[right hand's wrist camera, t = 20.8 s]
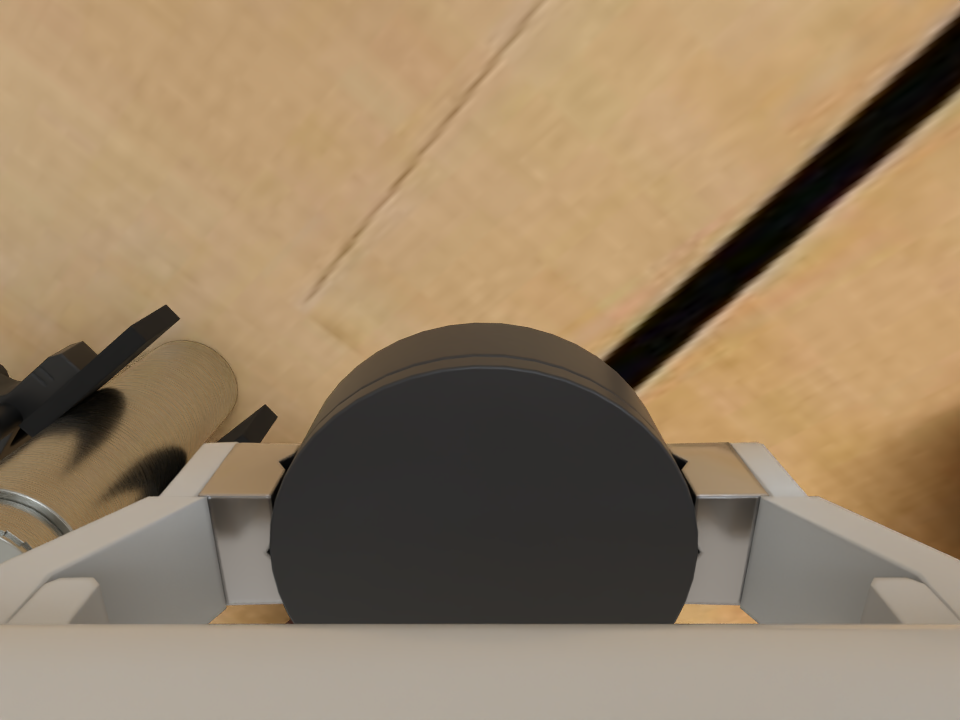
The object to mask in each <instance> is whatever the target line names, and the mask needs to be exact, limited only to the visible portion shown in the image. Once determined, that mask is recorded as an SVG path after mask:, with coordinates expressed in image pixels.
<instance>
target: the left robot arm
mask: <svg viewBox="0 0 960 720" xmlns="http://www.w3.org/2000/svg"><path fill="white" fill-rule="evenodd" d="M179 319H180V318H179V317H178V316H177V315H176V314H175V313H174V312H173V311H172V310H171V309H170V308H169V307H168V306H167V305H164V306H163V307H161V308H160V309H158V310H156V311H155V312H153V313H151V314H150V315H148V316H146V317H145V318H143V319H141V320H140V321H138V322H137V323H135V324H133V325H132V326H130V327H129V328H128V329H127V330H126V331H125V332H123V333H122V334H121V335H120V336H119V337H118V338H117V339H116V340H114V341H113V342H112V343H111V344H110V345H109V346H108V347H106V348H105V349H104V350H103V351H102V352H101V353H100V354H99V355H97V354H96V353H95V352H94V351H93V350H92V349H91V348H90V347H89V346H88V345H86V344H85V343H84V342H83V341H82V342H78V343H75V344H72V345H69V346H68V347H66V348H64V349H62V350H61V351H59V352H57V353H55V354H54V355H52V356H50V357H48V358H47V359H46V360H45V361H44V362H43V363H42V364H41V365H39V367H37V368H36V369H35V370H34V371H33V372H32V373H31V374H30V375H28V376H27V377H26V378H25V379H24V380H23V381H22V382H21V381H16V380H14V379H11V378H9V375H8V372H7V370H6V369H5V368H4V367H3V366H2V365H0V461H1V460H2V459H3V458H5V457H6V456H7V455H9V454H10V453H12V452H13V451H14V450H16V449H17V448H19V447H20V446H21V445H23V444H24V443H26V442H27V441H28V440H30V439H31V438H32V437H34V436H35V435H37V434H38V433H39V432H41V431H42V430H44V429H45V428H46V427H48V426H49V425H50V424H52V423H53V422H55V421H56V420H57V419H59V418H60V417H62V416H63V415H64V414H66V413H67V412H69V411H70V410H71V409H73V408H74V407H75V406H77V405H78V404H80V403H81V402H82V401H84V400H85V399H87V398H88V397H89V396H91V395H92V394H93V393H95V392H96V391H97V390H99V389H100V388H101V387H102V386H103V385H104V384H105V383H107V382H108V381H109V380H110V379H111V378H112V377H114V376H115V375H116V374H117V373H118V372H119V371H120V370H122V369H123V368H124V367H125V366H126V365H127V364H129V363H130V362H131V361H132V360H133V359H134V358H135V357H137V356H138V355H139V354H140V353H141V352H142V351H144V350H145V349H146V348H147V347H148V346H149V345H151V344H152V343H153V342H154V341H155V340H156V339H157V338H159V337H160V336H161V335H162V334H163V333H164V332H166V331H167V330H168V329H169V328H170V327H171V326H172V325H174V324H175V323H176V322H177V321H178V320H179ZM276 419H277V416H276V415H275V414H274V413H273V412H272V411H271V410H270V409H269V408H268V407H267V406H266V405H264V406H262V407H261V408H260V409H259V410H257V411H256V412H255V413H253V414H252V415H251V416H250V417H248V418H247V419H246V420H244V421H243V422H242V423H241V424H239V425H238V426H237V427H236V428H234V429H233V430H232V431H230V432H229V433H228V434H227V435H225V436H224V437H223V438H221V439H220V440H219V441H218V442H238V443H260V442H261V441H262V439H263V438H264V436H265V435H266V434H267V432H268V431H269V429H270V428H271V426H272V425H273V423H274V422H275V420H276ZM218 442H216V443H218Z"/></svg>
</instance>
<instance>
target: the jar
mask: <svg viewBox="0 0 960 720" xmlns="http://www.w3.org/2000/svg"><path fill="white" fill-rule="evenodd" d="M236 398H237V383H236V379H235V376H234V373H233V371H232V369H231V368H230V366H229V365H228V363H227V362H226V361H225V360H224V359H223V358H222V357H221V356H220V355H219V354H218V353H217V352H215V351H214V350H212V349H211V348H209V347H207V346H205V345H202V344H200V343H196V342H192V341H181V340H180V341H172V342H168V343H165V344H163V345H161V346H159V347H157V348H156V349H155V350H153V351H152V352H150V353H149V354H148V355H146V356H145V357H143V358H142V359H141V360H139V361H138V362H136V363H135V364H134V365H132V366H131V367H130V368H128V369H127V370H125V371H124V372H123V373H121V374H120V375H118V376H117V377H116V378H114V379H113V380H112V381H110V382H109V383H107V384H106V385H105V386H103V387H102V388H100V389H99V390H98V391H96V392H95V393H93V394H92V395H91V396H89V397H88V398H87V399H85V400H84V401H82V402H81V403H80V404H78V405H77V406H75V407H74V408H73V409H71V410H70V411H69V412H67V413H66V414H64V415H63V416H62V417H60V418H59V419H57V420H56V421H55V422H53V423H52V424H50V425H49V426H48V427H46V428H45V429H44V430H42V431H41V432H39V433H38V434H37V435H35V436H34V437H32V438H31V439H30V440H28V441H27V442H26V443H24V444H23V445H21V446H20V447H19V448H17V449H16V450H14V451H13V452H12V453H10V454H9V455H7V456H6V457H5V458H3V459H2V460H1V461H0V563H3V562H5V561H7V560H9V559H12V558H14V557H16V556H18V555H20V554H23V553H25V552H27V551H29V550H31V549H34V548H36V547H38V546H40V545H42V544H45V543H47V542H49V541H51V540H54V539H56V538H58V537H60V536H62V535H65V534H67V533H69V532H71V531H73V530H76V529H78V528H80V527H82V526H84V525H87V524H89V523H91V522H93V521H96V520H98V519H100V518H102V517H104V516H107V515H109V514H111V513H113V512H115V511H118V510H120V509H122V508H124V507H126V506H129V505H131V504H133V503H135V502H137V501H140V500H142V499H144V498H146V497H149V496H160V495H161V493H162V492H163V491H164V490H165V489H166V488H167V486H168V485H169V484H170V483H171V482H172V480H173V479H174V478H175V477H176V476H177V474H178V473H179V472H180V471H181V470H182V469H183V467H184V466H185V465H186V464H187V463H188V461H189V460H190V459H191V458H192V457H193V455H194V454H195V453H196V452H197V451H198V450H199V448H200V447H201V446H202V445H203V444H204V443H205V442H206V441H207V439H208V438H209V437H210V436H211V435H212V434H213V432H214V431H215V430H216V429H217V428H218V426H219V425H220V424H221V423H222V422H223V420H224V419H225V418H226V417H227V416H228V415H229V413H230V412H231V411H232V409H233V407H234V405H235V402H236Z"/></svg>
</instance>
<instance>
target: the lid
mask: <svg viewBox="0 0 960 720" xmlns="http://www.w3.org/2000/svg"><path fill="white" fill-rule="evenodd" d="M269 548H270V557H271V565H272V572H273V576H274V579H275V583H276V586H277V590H278V593H279V596H280V598H281V600H282V602H283V605H284V607H285V609H286V611H287V613H288V615H289V617H290V618H291V620H292V622H293V623H294V624H674V623H675V621H676V619H677V618H678V616H679V614H680V612H681V610H682V608H683V606H684V604H685V602H686V600H687V597H688V594H689V591H690V588H691V585H692V582H693V579H694V573H695V568H696V562H697V556H698V528H697V521H696V514H695V508H694V504H693V501H692V498H691V495H690V492H689V489H688V485H687V483H686V481H685V479H684V477H683V475H682V473H681V471H680V469H679V467H678V465H677V463H676V461H675V460H674V458H673V456H672V454H671V452H670V451H669V449H668V447H667V445H666V443H665V442H664V440H663V438H662V436H661V434H660V433H659V431H658V429H657V427H656V425H655V423H654V422H653V420H652V418H651V416H650V414H649V413H648V411H647V409H646V407H645V406H644V404H643V403H642V402H641V400H640V399H639V397H638V396H637V395H636V393H635V392H634V390H633V389H632V388H631V387H630V386H629V385H628V384H627V383H626V382H625V380H624V379H623V378H622V377H621V376H620V375H619V374H618V373H617V372H616V371H615V370H613V369H612V368H611V367H609V366H608V365H607V364H606V363H604V362H603V361H602V360H601V359H599V358H598V357H597V356H595V355H593V354H592V353H590V352H588V351H587V350H585V349H583V348H581V347H580V346H578V345H576V344H574V343H572V342H569V341H567V340H565V339H562V338H560V337H558V336H555V335H553V334H550V333H546V332H543V331H539V330H535V329H532V328H528V327H522V326H516V325H509V324H502V323H468V324H459V325H449V326H445V327H440V328H436V329H432V330H427V331H423V332H420V333H418V334H415V335H412V336H410V337H407V338H404V339H402V340H399V341H397V342H395V343H393V344H391V345H390V346H388V347H386V348H384V349H382V350H380V351H378V352H376V353H375V354H374V355H372V356H371V357H369V358H368V359H367V360H365V361H364V362H362V363H361V364H360V365H358V366H357V367H356V368H355V369H354V370H353V371H352V372H351V373H350V374H348V375H347V376H346V377H345V378H344V379H343V380H342V381H341V382H340V383H339V384H338V386H337V387H336V388H335V389H334V391H333V392H332V393H331V394H330V396H329V397H328V398H327V400H326V401H325V403H324V404H323V406H322V408H321V410H320V411H319V413H318V415H317V417H316V418H315V420H314V422H313V424H312V426H311V427H310V429H309V431H308V433H307V435H306V437H305V439H304V441H303V442H302V444H301V446H300V448H299V450H298V452H297V454H296V455H295V457H294V459H293V461H292V463H291V465H290V467H289V468H288V470H287V472H286V474H285V476H284V478H283V481H282V483H281V486H280V489H279V491H278V494H277V496H276V499H275V503H274V508H273V513H272V518H271V522H270V542H269Z"/></svg>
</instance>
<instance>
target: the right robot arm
mask: <svg viewBox="0 0 960 720" xmlns="http://www.w3.org/2000/svg"><path fill="white" fill-rule="evenodd" d="M666 445H667V447H668V449H669V451H670V452H671V454H672V456H673V458H674V460H675V461H676V463H677V465H678V467H679V469H680V471H681V473H682V475H683V477H684V479H685V481H686V483H687V485H688V489H689V492H690V495H691V498H692V501H693V504H694V508H695V514H696V521H697V528H698V556H697V562H696V568H695V573H694V579H693V582H692V585H691V588H690V591H689V594H688V597H687V600H686V602H685V604H711V605H740V608H741V609H742V610H743V611H744V612H746V613H747V614H748V615H749V616H750V617H752V618H753V619H754V620H755V621H756V622H758V623H759V624H208V623H210V622H211V621H212V620H213V619H214V618H215V617H217V616H218V615H219V614H220V613H221V612H223V611H224V610H225V609H226V605H254V604H283V602H282V600H281V598H280V596H279V593H278V590H277V586H276V583H275V579H274V576H273V572H272V565H271V557H270V548H269V542H270V522H271V518H272V513H273V508H274V503H275V499H276V496H277V494H278V491H279V489H280V486H281V483H282V481H283V478H284V476H285V474H286V472H287V470H288V468H289V467H290V465H291V463H292V461H293V459H294V457H295V455H296V454H297V452H298V450H299V448H300V446H301V444H285V443H238V442H218V443H204V444H203V445H202V446H201V447H200V448H199V450H198V451H197V452H196V453H195V454H194V455H193V457H192V458H191V459H190V460H189V461H188V463H187V464H186V465H185V466H184V467H183V469H182V470H181V471H180V472H179V473H178V474H177V476H176V477H175V478H174V479H173V480H172V482H171V483H170V484H169V485H168V486H167V488H166V489H165V490H164V491H163V492H162V493H161V495H160V496H149V497H146V498H144V499H142V500H140V501H137V502H135V503H133V504H131V505H129V506H126V507H124V508H122V509H120V510H118V511H115V512H113V513H111V514H109V515H107V516H104V517H102V518H100V519H98V520H96V521H93V522H91V523H89V524H87V525H84V526H82V527H80V528H78V529H76V530H73V531H71V532H69V533H67V534H65V535H62V536H60V537H58V538H56V539H54V540H51V541H49V542H47V543H45V544H42V545H40V546H38V547H36V548H34V549H31V550H29V551H27V552H25V553H23V554H20V555H18V556H16V557H14V558H12V559H9V560H7V561H5V562H3V563H0V720H960V560H959V559H957V558H954V557H952V556H950V555H948V554H946V553H943V552H941V551H939V550H937V549H934V548H932V547H930V546H928V545H925V544H923V543H921V542H919V541H917V540H914V539H912V538H910V537H908V536H905V535H903V534H901V533H899V532H897V531H894V530H892V529H890V528H888V527H885V526H883V525H881V524H879V523H877V522H874V521H872V520H870V519H868V518H865V517H863V516H861V515H859V514H857V513H854V512H852V511H850V510H848V509H845V508H843V507H841V506H839V505H836V504H834V503H832V502H830V501H828V500H825V499H823V498H821V497H819V496H807V495H806V493H805V492H804V491H803V490H802V489H801V488H800V486H799V485H798V484H797V483H796V482H795V481H794V479H793V478H792V477H791V476H790V475H789V474H788V472H787V471H786V470H785V469H784V468H783V467H782V466H781V464H780V463H779V462H778V461H777V460H776V459H775V457H774V456H773V455H772V454H771V453H770V452H769V450H768V449H767V448H766V447H765V446H764V445H763V444H761V443H758V442H742V443H729V442H727V443H685V444H666Z"/></svg>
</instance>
